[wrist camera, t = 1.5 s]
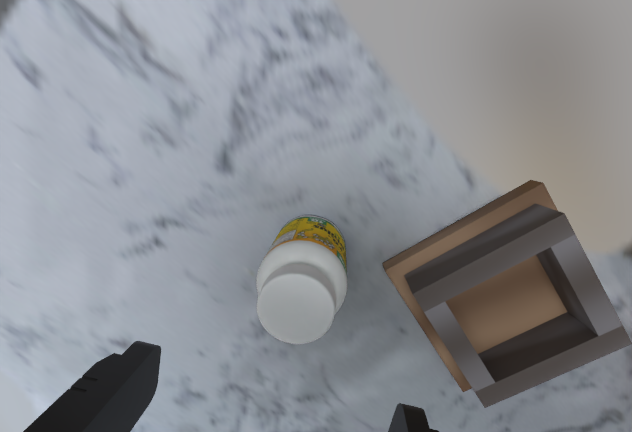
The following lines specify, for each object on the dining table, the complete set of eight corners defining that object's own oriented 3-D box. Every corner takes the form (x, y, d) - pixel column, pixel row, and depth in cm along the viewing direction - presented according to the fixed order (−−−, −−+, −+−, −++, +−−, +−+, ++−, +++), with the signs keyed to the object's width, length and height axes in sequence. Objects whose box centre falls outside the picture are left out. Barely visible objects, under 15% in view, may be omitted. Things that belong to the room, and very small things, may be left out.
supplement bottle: (263, 239, 26) (220, 298, 17) (317, 199, 25) (303, 237, 16) (305, 291, 27) (286, 374, 17) (359, 254, 26) (369, 321, 16)
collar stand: (600, 311, 25) (654, 348, 21) (456, 378, 28) (478, 424, 23) (530, 180, 23) (573, 190, 19) (382, 263, 26) (390, 289, 21)
